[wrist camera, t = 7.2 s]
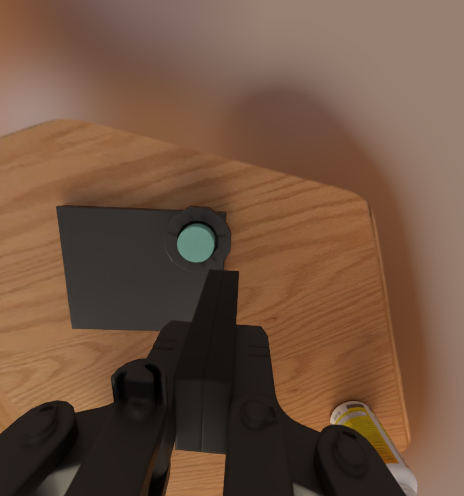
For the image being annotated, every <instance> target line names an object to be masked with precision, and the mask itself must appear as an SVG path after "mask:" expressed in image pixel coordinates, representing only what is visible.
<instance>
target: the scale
mask: <svg viewBox="0 0 464 496" xmlns="http://www.w3.org/2000/svg"><path fill="white" fill-rule="evenodd" d="M56 209H57V217H58V224H59V232H60V240H61V247H62V255H63V263H64V271H65V278H66V286H67V294H68V301H69V309H70V317H71V325H72V329H103V330H140V331H161V329H162V328H163V327H164V326H165V325H166V324H168V323H169V322H170V321H171V320H175V321H188V322H192V319H193V316H194V313H195V310H196V307H197V304H198V301H199V298H200V295H201V293H202V290H203V287H204V284H205V281H206V278H207V275H208V272H209V269H213V270H224V260H225V258H226V257H227V255H228V254H229V252H230V247H231V230H230V228H229V227H228V225H227V223H226V212H216V211H214V210H213V209H211V208H209V207H200V206H190V207H188V208H187V209H185V210H169V209H145V208H121V207H97V206H73V205H63V206H57V207H56ZM192 224H203V225H205V226H207V227H209V228H210V229H211V230H212V232H213V234H214V236H215V245H214V250H213V252H212V254H211V256H210V257H209V258H207V259H206V260H204V261H201V262H191V261H188V260H186V259H185V258H184V257H183V256H182V255H181V254H180V252H179V250H178V247H177V241H178V237H179V235H180V234H181V232H182V231H183V230H184V229H185V228H186V227H188V226H189V225H192Z"/></svg>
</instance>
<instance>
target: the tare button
mask: <svg viewBox="0 0 464 496" xmlns="http://www.w3.org/2000/svg"><path fill="white" fill-rule="evenodd" d="M214 245H215V236H214V234H213V232H212V230H211V229H210V228H209V227H207V226H205V225H203V224H192V225H189V226H188V227H186V228H185V229H184V230H183V231H182V232H181V234H180V235H179V237H178V241H177V247H178V250H179V252H180V254H181V255H182V256H183V257H184V258H185V259H186V260H188V261H191V262H201V261H204V260H206V259H207V258H209V257H210V256H211V254H212V252H213V250H214Z"/></svg>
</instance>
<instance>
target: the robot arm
mask: <svg viewBox="0 0 464 496" xmlns="http://www.w3.org/2000/svg"><path fill="white" fill-rule="evenodd" d="M238 280H239V271H227V270H213V269H209V272H208V275H207V278H206V281H205V284H204V287H203V290H202V293H201V295H200V298H199V301H198V304H197V307H196V310H195V313H194V316H193V319H192V322H188V321H175V320H171V321H170V322H169V323H168V324H166V325H165V326H164V327H163V328H162V329H161V331H160V333H159V335H158V337H157V340H156V341H155V343H154V345H153V348H152V349H151V351H150V353H149V355H148V357H147V359H137V360H134V361H131V362H128V363H126V364H125V365H123V366H122V367H120V368H119V369H117V371H116V372H115V373H114V374H113V375H112V376H111V383H112V390H113V397H114V402H113V403H111V404H109V405H106V406H103V407H100V408H95V409H90V410H86V411H81V412H76V413H75V412H74V407H73V406H72V405H71V404H69V403H68V402H65V401H58V400H57V401H52V402H47V403H43V404H41V405H39V406H37V407H35V408H32V409H31V410H29V411H28V412H26V413H25V414H24V415H22V416H21V417H19V418H18V419H17V420H16V421H15V422H14V423H12V424H11V425H10V426H9V427H8V428H7V429H5V430H4V431H3V432H2V433H1V434H0V496H165V494H166V489H167V485H168V481H169V477H170V467H171V459H170V458H171V454H172V450H173V446H174V442H175V450H185V451H195V452H206V453H216V454H226V460H225V474H224V488H223V496H406V494H405V493H404V491H403V490H402V488H401V487H400V485H399V484H398V482H397V481H396V479H395V478H394V476H393V475H392V473H391V472H390V470H389V469H388V467H387V466H386V464H385V463H384V461H383V459H382V458H381V456H380V455H379V453H378V452H377V450H376V449H375V448H374V447H373V446H372V444H371V443H370V442H369V441H368V440H367V439H366V438H365V437H364V436H363V435H361V434H360V433H359V432H357V431H356V430H354V429H352V428H349V427H347V426H344V425H336V424H332V425H329V426H327V427H325V428H323V430H322V431H321V433H320V432H318V431H316V430H313V429H311V428H309V427H306V426H304V425H301V424H300V423H298V422H296V421H294V420H293V419H291V418H290V417H289V416H288V415H287V414H286V413H285V412H284V411H283V410H282V409H281V407H280V405H279V403H278V401H277V398H276V395H275V387H274V380H273V372H272V364H271V358H270V349H269V341H268V335H267V334H266V332H265V331H264V330H263V328H262V327H261V326H250V325H237V324H236V315H237V298H238Z"/></svg>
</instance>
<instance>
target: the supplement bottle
mask: <svg viewBox="0 0 464 496" xmlns="http://www.w3.org/2000/svg"><path fill="white" fill-rule="evenodd" d="M330 422H331V425H332V424H336V425H344V426H347V427H349V428H352V429H354V430H356V431H357V432H359V433H360V434H361V435H363V436H364V437H365V438H366V439H367V440H368V441H369V442H370V443H371V444H372V446H373V447H374V448H375V449H376V450H377V452H378V453H379V455H380V456H381V458H382V459H383V461H384V463H385V464H386V466H387V467H388V469H389V470H390V472H391V473H392V475H393V476H394V478H395V479H396V481H397V482H398V484H399V485H400V487H401V488H402V490H403V491H404V493H405V494H406V496H417V494H416V493H417V480H416V478H415V476H414V474H413V473H412V471H411V469H410V468H409V466H408V465H407V463H406V462H405V460H404V458H403V457H402V455H401V454H400V452H399V451H398V449H397V448H396V446H395V445H394V443H393V441H392V440H391V438H390V437H389V435H388V434H387V432H386V431H385V429H384V428H383V426H382V425H381V423H380V422H379V420H378V418H377V417H376V415H375V414H374V412H373V411H372V410H371V408H370V407H369V406H367V405H366V404H364V403H362V402H359V401H349V402H345V403H343V404H341V405H339V406H338V407H337V408H336V409H335V410H334V411H333V413H332V415H331V420H330Z"/></svg>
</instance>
